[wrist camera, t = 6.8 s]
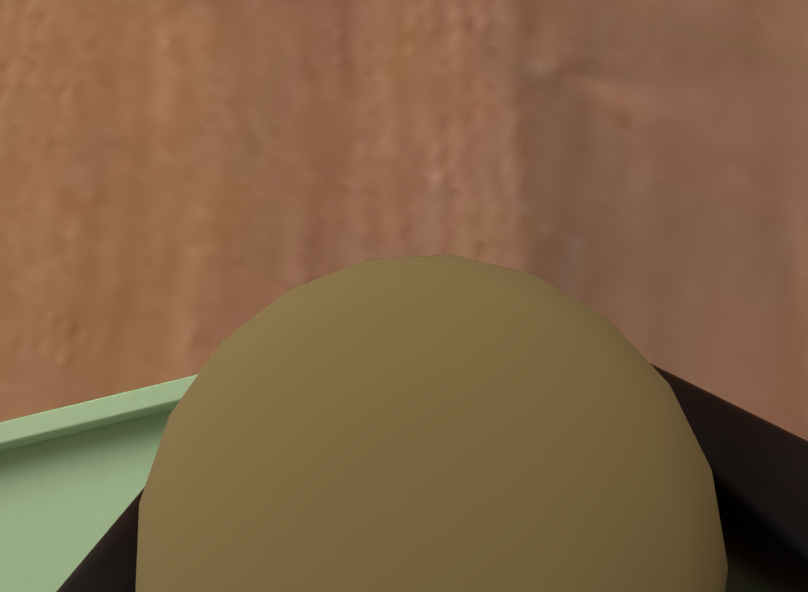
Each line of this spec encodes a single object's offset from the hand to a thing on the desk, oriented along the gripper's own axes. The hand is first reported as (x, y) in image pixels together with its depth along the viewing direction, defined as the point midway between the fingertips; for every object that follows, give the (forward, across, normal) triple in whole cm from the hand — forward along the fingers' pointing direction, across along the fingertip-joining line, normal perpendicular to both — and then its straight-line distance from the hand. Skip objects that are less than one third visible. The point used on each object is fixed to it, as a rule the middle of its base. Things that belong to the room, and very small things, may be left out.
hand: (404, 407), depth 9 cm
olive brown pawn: (+4, 0, +6) cm, 7 cm away
